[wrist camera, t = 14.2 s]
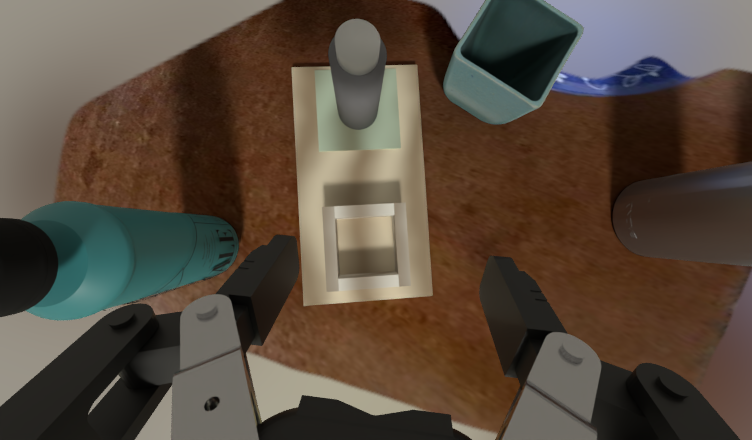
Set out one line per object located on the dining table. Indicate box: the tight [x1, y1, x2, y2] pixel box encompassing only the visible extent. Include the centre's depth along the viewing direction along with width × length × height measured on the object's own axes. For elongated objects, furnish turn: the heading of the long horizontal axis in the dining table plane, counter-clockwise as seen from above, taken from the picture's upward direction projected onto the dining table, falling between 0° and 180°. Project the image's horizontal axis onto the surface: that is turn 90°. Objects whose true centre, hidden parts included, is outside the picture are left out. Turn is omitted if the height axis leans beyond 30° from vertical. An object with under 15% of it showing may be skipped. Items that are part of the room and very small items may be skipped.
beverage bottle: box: [0, 201, 239, 320], centre depth 20 cm, size 6×7×20 cm
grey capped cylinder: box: [328, 19, 387, 130], centre depth 25 cm, size 4×4×11 cm
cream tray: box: [292, 65, 433, 306], centre depth 29 cm, size 14×26×3 cm, turn 3°
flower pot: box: [443, 0, 584, 124], centre depth 28 cm, size 9×9×9 cm
